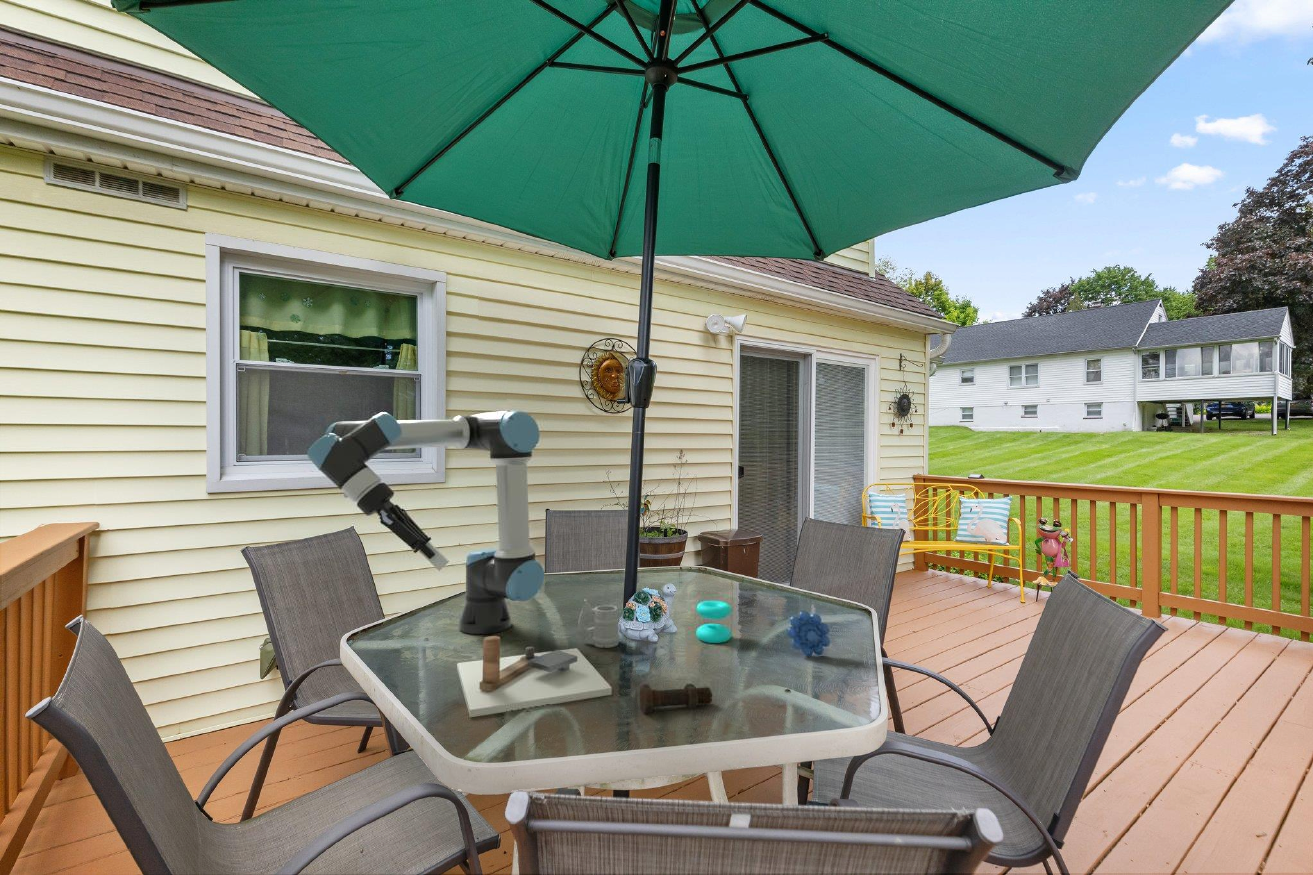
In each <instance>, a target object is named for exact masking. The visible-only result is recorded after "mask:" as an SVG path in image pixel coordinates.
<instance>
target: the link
mask: <svg viewBox="0 0 1313 875" xmlns="http://www.w3.org/2000/svg"><path fill="white" fill-rule="evenodd" d="M482 641H483V642H482V660H483V679H482V681H481V682H480V684H479V689H480V690H485V691H490V692H491V691H493V690H494V689H496V688H498V687H499V686H501V685H503V684H504V683H506V682H508V681H509V680H511V679H513V678H514V677H516V676H518V675H519V674H521V673H523V672H524V671H526V670H528V669H529V668H531V666H528V660H530V659H533V658H536V657H539V656H536V655H534V654H535V647H533V646H527V647H525V655H526V656H523V657H521V658H520V660H519V661H517V662H515V663H513V664H511V665H510V666H508V667H506V668H504V669H503V670H501V671H500V658H501V637H500V636H499V635H492V636H491V635H490V636H486V637H484V638H482Z"/></svg>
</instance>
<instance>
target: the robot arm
mask: <svg viewBox="0 0 1313 875" xmlns="http://www.w3.org/2000/svg"><path fill="white" fill-rule="evenodd" d="M539 441H540V430H539V425H538V424H537V421H536V419H535V418H533V417H532V415H531V414H529V413H527V412H525V411H521V410H512V409H511V410H501V411H488V412H482V413H475V414H469V415H457V416H455V417H453V419H419V420H417V419H409V420H406V419H405V420H404V419H403V420H397V419H396V418H395V417H394V416H393V415H391V414H390V413H388V412H385V411H384V412H383V411H381V412H379V413H377V414H375V415H372V416H371V417H370V418H369V419H368V420H355V421H354V420H352V421H351V420H350V421H346V420H345V421H344V420H342V421H337V422H334V423H332V424H330V426H328V428H326V431H325V435H323V436H321V437H320V438H318V439H317V440H316V441H315V442H314V443H312V444H311V446H310V447H309V448H308V450H307V458H308V459H309V460H310V462H312V463H313V465H315V468H317V470H319V471H320V472H322V474H324V476H325V477H326V478H328V479H329V481H331V482H332V483H333V484H334V485H335V486H336V487H337V488H338V489H340V491H342V493H344V494H343V497H344V498H345V499H347V498H349V500H351V501H352V502H353V503H356V507H357V508H359V509H360V510H361V511H362V513H364V514H365V516H372V515H374V514H375V513H376V514H377V516H379V523H380V524H381V525H382V526H384V527H386V528H387V529H389V530H390V531H391V532H392V533H393V534H394V535H395V536H397V537H398V538H399V539H400V540H401V541H402V542H403V543H405V544H406V545H407V546H408V547H409V548H411V550H413V551H412V552H413V553H415V554H416V553H420V554H421V555H422V556H423V557H424V558H425V559H426V560H427V561H428V562H429V563H430V564H431V565H432V566H433V567H434V568H435V569H436V570H437V571H439V572H440V571H441V570H442V569H443V568H445V567H446V566H447V565H448V564H449V563H450V560H448V559H447V558H446V557H445V555H444V554H442V553H441V551H439V549H437V547H436V546H434V545H433V544H432V543H431V542H430V541H431V540H432V537H431V536H428V535H427V534H426V533H425V532H424V531H423V530H422V528H420V527H419V525H418V523H416V522H415V521H414V520H413V519H412V518H411V516H410V515H409V514H408V512H407V511H406V509H404V508H401V507H400V506H399V505H398V504H394V503H393V502H392V501H391V499H392V498H393V497H394V495H395V492H394V490H393V489H392V488H391V487H389V485H388V484H387V483H385V482H382V478H380V476H379V475H378V474H377V473H375V471H374V470H373V469H371V467H370V466H368V464H366V463H367V462H369V461H371V459H373V458H374V457H376V456H377V455H379V453H381V452H383V451H384V450H399V449H402V450H403V449H419V448H421V449H422V448H424V449H425V448H441V447H442V448H443V447H455V449H459V450H477V451H478V450H480V451H486V452H489V459H490V460H491V461H492V462H493V463H494V464H495V466H496V467H495V468H496V469H495V473H496V497H497V498H496V500H497V521H498V522H497V523H498V524H497V525H498V526H497V527H498V548H491V549H484V550H476V551H471V552H469V553H468V554H467V556H466V562H465V603H464V605H463V609H462V610H461V611H462V613H461V615H460V617H459V622H458V629H459V630H460V632H462V633H466V634H471V635H485V634H486V635H487V634H493V633H494V634H495V633H499V632H503V631H506V630H508V629H509V628H510V627H511V626H512V616H511V613H510V609H509V607H508V603H507V600H510V601H514V602H516V601H517V602H526V601H530V600H532V599H533V598H534V597H536V596H537V594H538V593H539V591H540V590H541V589H542V586H543V584H544V582H545V570H544V568H543V566H542V565H541V563H540V562H538V561H536V550H535V548H533V547H532V546H531V544H530V542H531V541H530V517H529V515H530V514H529V494H528V493H529V492H528V491H529V490H528V488H529V486H528V463H529V461H530V460H531V459H532V458H533V453H532V452H533V450H534V449H535V448H537V444H538V443H539Z"/></svg>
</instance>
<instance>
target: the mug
mask: <svg viewBox="0 0 1313 875" xmlns="http://www.w3.org/2000/svg"><path fill="white" fill-rule="evenodd" d="M590 606H591V604H590V603H589V601H588V600H587V599H584V600H583V607H582V610H581V611H580V615H579V617H578V621H577V626H578V627H577V629H578V630H577V631H578V634H579V635H580V637H581V639H582V640H585V639H586V637H588V636H589V635H592V636H591V640H592V645H593V646H594V647H596V648H600V649H604V648H605V649H609V648H610V649H611V648H614V647H616V646H618V645H619V641H620V636H621V635H620V634H619V623H620V618H619V611H618V607H617V606H615V605H610V604H609V605H599V606H595V607H594V608H591V607H590ZM589 614H594V616H593V622H592V623H593V627H592V626H591V627H590V628H587V627H586V625H585V622H586V617H587V616H588V615H589Z"/></svg>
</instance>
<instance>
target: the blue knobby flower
mask: <svg viewBox="0 0 1313 875" xmlns="http://www.w3.org/2000/svg"><path fill="white" fill-rule="evenodd" d="M789 623H790V625H791V626H789V627H788V628H787V630H786V633H787V636H788V637H789V638H790V639H792V640H791V646H792V648H793V649H795V650H796V651H800V650H801V652H802V654H803V655H804V656H805V655H806V656H805V657H808V656H810V657H812V655H813V654H815V655H816V654H817V655H816V656H821V655H822V656H823V654H824V651H825V650H824V647H825V648H827V647H829V646H830V645H831V640H830V638H829V637H828V635H829V633H830V627H829V626H828V625H827V624H826V623H823V622H822V617H821V616H820V615H819V614H818V613H813V614H810V612H808V611H805V610H802V611H801V610H800V612H799V614H798V616H797V615H793V616H791V617H790V619H789Z"/></svg>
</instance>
